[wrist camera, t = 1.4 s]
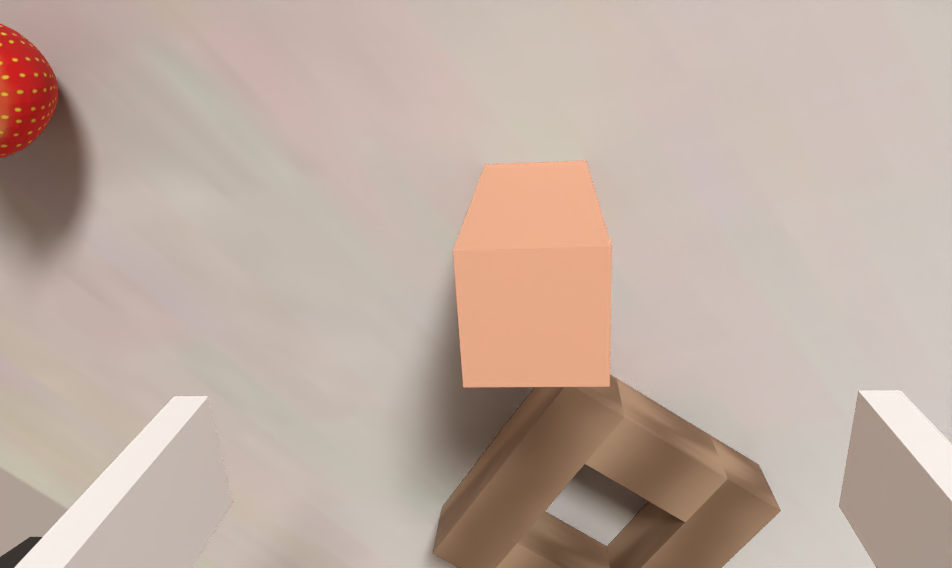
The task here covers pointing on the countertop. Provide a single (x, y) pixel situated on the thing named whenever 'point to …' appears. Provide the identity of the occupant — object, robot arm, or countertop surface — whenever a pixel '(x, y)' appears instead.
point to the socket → (617, 457)
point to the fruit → (23, 92)
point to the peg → (534, 279)
